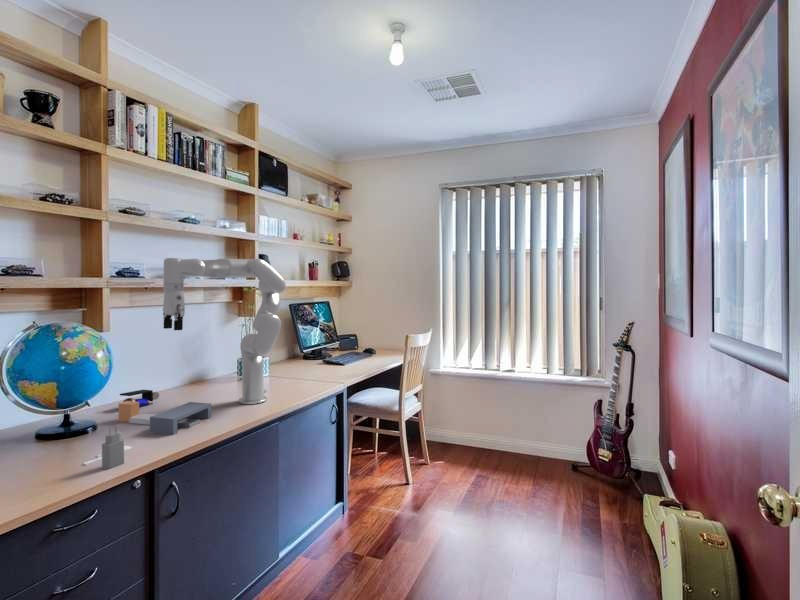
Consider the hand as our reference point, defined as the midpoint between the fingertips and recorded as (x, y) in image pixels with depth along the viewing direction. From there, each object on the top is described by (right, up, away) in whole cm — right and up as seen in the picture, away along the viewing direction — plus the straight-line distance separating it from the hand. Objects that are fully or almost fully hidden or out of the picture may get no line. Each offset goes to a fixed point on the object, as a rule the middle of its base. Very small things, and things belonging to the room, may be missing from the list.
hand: (172, 329), depth 185 cm
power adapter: (+8, -38, -50) cm, 64 cm away
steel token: (+12, -37, -11) cm, 40 cm away
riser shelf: (+9, -36, -11) cm, 39 cm away
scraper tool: (-6, -36, -7) cm, 38 cm away
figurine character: (-22, -36, +14) cm, 44 cm away
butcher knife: (0, -38, -43) cm, 57 cm away
